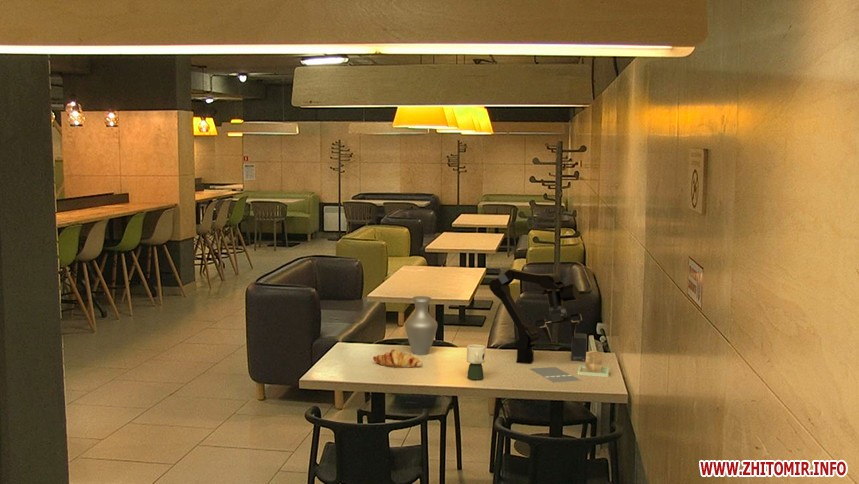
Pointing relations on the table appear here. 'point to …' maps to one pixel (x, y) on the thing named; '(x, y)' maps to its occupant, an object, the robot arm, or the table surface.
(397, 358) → the croissant
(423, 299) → the vase
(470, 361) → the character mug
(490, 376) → the table surface
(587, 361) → the stub
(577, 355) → the small box
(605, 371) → the tray
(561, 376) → the ticket board
